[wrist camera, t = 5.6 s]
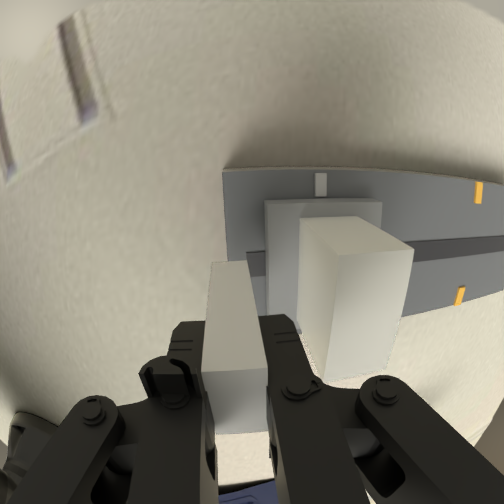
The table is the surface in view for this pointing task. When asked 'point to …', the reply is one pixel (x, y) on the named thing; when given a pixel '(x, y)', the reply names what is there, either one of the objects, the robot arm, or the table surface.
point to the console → (384, 225)
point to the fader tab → (337, 280)
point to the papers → (252, 495)
